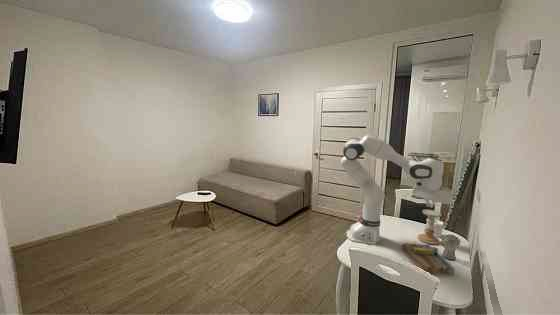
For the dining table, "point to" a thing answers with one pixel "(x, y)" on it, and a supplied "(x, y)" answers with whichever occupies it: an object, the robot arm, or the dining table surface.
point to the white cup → (438, 228)
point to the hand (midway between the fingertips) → (429, 206)
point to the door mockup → (428, 260)
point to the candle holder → (430, 228)
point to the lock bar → (425, 250)
